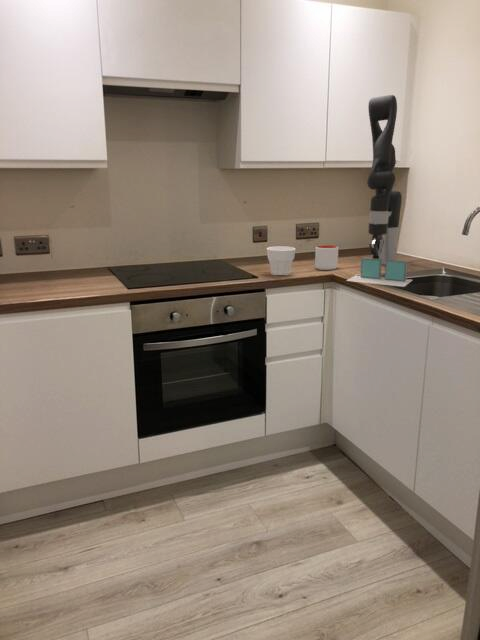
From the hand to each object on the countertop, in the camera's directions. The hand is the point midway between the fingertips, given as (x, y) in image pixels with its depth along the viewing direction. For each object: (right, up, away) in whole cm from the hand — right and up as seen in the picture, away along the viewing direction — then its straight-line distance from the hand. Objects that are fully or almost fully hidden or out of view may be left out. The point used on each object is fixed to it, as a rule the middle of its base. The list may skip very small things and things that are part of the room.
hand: (375, 264), depth 214 cm
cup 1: (-39, -4, +8) cm, 40 cm away
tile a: (-3, -6, -4) cm, 8 cm away
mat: (-1, -8, -8) cm, 11 cm away
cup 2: (-18, 0, +18) cm, 25 cm away
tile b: (+6, -7, -8) cm, 13 cm away
